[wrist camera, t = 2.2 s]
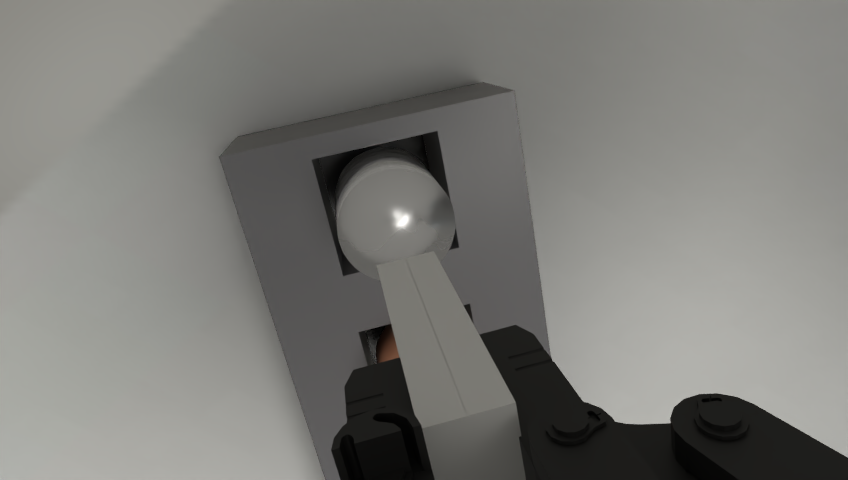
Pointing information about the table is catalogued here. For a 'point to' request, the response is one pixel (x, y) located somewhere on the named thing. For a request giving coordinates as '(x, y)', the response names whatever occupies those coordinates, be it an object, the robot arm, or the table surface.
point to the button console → (330, 269)
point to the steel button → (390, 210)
